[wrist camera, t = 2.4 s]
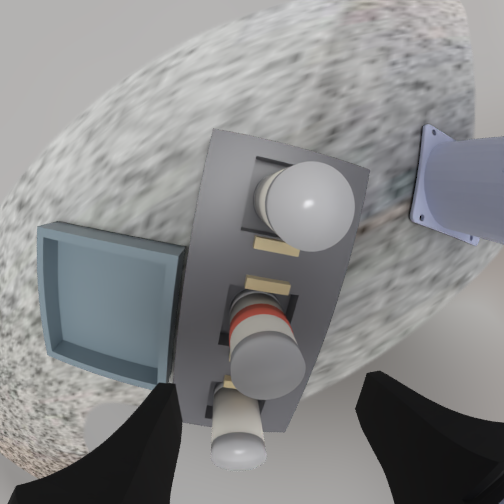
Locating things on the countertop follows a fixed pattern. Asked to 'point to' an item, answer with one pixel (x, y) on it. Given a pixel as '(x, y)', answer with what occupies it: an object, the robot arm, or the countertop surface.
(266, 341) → the marked fuse
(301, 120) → the countertop surface
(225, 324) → the fuse holder
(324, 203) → the fuse
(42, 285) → the tray
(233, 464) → the fuse
